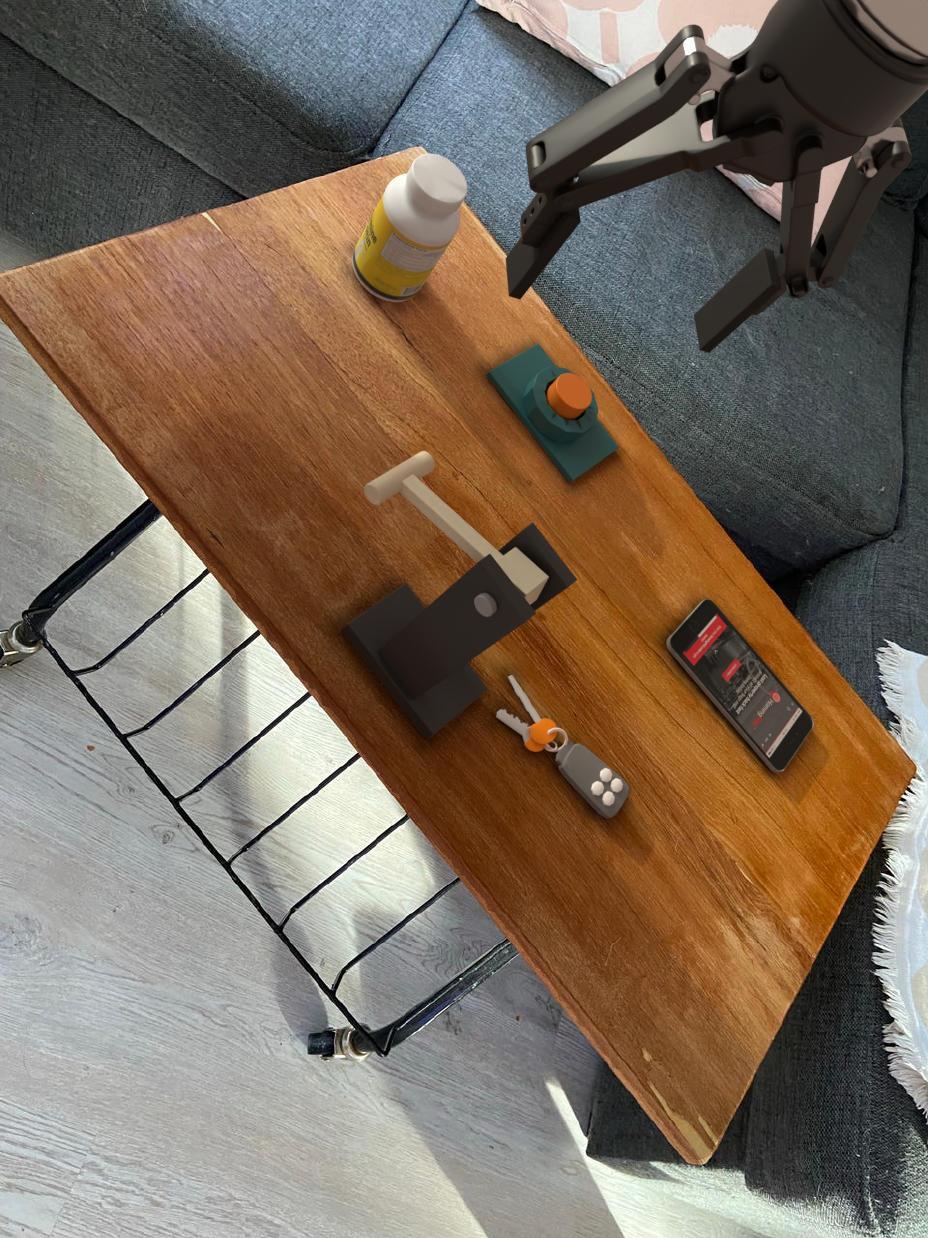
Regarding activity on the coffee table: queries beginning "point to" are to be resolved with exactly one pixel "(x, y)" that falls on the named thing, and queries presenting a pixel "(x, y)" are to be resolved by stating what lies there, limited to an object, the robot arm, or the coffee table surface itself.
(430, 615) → the lever switch stand
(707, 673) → the smartphone
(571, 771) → the key chain
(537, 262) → the robot arm
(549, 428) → the teal button base
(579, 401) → the button
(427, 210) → the pill bottle
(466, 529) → the switch lever
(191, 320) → the coffee table surface
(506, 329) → the coffee table surface
